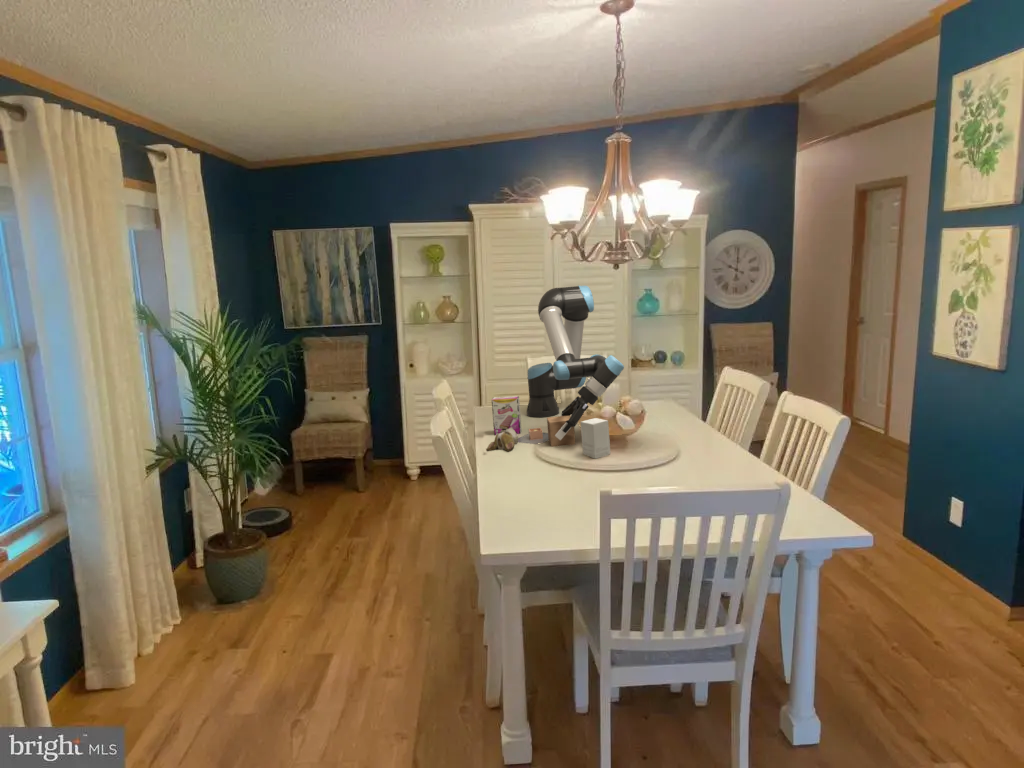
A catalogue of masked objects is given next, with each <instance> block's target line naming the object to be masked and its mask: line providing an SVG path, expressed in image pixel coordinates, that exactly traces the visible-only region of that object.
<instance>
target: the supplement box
mask: <svg viewBox="0 0 1024 768" xmlns="http://www.w3.org/2000/svg"><path fill="white" fill-rule="evenodd" d="M580 432H581V434H580V435H581V444H582V445H581V447H582V455H585V456H589V458H592V459H599V458H603V457H606V456H609V455H611V444H610V443H611V441H610V428H609V420H608V419H601V418H597V417H594V418H590V419H585V420H583V421H582V420H581V421H580Z"/></svg>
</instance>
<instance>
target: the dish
mask: <svg viewBox="0 0 1024 768" xmlns="http://www.w3.org/2000/svg"><path fill="white" fill-rule="evenodd" d="M534 430H537V431H534ZM542 433H543V429H542V428H541V427H536V428H534V427H533V428H528V434H529V438H530V440H535V439H543V434H542Z"/></svg>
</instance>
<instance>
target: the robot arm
mask: <svg viewBox="0 0 1024 768" xmlns="http://www.w3.org/2000/svg"><path fill="white" fill-rule="evenodd" d="M594 311H595V302H594V297H593V293H592V290H591V288H590V287H589V286H588V285H577V286H564V287H563V286H562V287H553V288H551V289H549V290H547V291H545V293H544V294H543V295H542V297H541V298H540V300H539V302H538V306H537V314H538V317H539V319H540V321H541V322H542V323H543V324H544V328H545V331H546V334H547V337H548V340H549V343H550V346H551V349H552V351H553V355H554V358H555V361H554V362H553V364H552V363H551V362H543V363H538V364H534V365H532V366H530V367H529V368H528V370H527V384H528V394H529V395H528V396H529V399H528V403H527V408H526V415H527V416H528V417H530V418H544V417H545V418H546V417H547V418H548V417H554V416H556V415H558V414H560V407H559V405H558V403H557V400H556V398H555V391H562V390H570V389H577V388H578V389H579V388H580V389H579V390H578V391H577V394H578V395H579V396H576V397H575V399H574V400H572V402H571V403H569V404H568V405H567V406H566V407H565V408H564V409H563V410H562V411H561V415H560V416H569V415H570V416H571V417H570V418H569V420H567V421H566V423H565V424H564V425H563V426H562V428H561V429H560V430H559V431H558V432H557V433H556V435H555V436H556V437H557V438H558V439H559V440H561V439H562V438H563V437H564V436H565V435H566V433H567V432H568V431H569V430H570V429H571V428H572V427H574V428H575V427H576V425H578V422H579V421H580V420H581V418H582V416H583V415H584V413H585V412H586V411H587V410H588V408H589V405H592V406H594V404H595V403H596V402H597V401H598V400H599V397H601V396H602V395H603V394H604V393H605V392H606V391H607V389H608V388H609V387H610V386H611V384H613V382H615V380H616V379H617V378H618V376H620V375H621V373H622V372H623V370H624V369H625V365H624V364H623V363H622V362H621V361H620V360H618V359H617V358H616V357H615V356H614V355H608V357H605V356H604V355H600V354H598V353H597V354H593V355H591V356H589V357H583V358H581V355H582V353H581V352H582V343H583V334H584V326H585V321H586V320H587V319H588V317H589V313H592V312H594ZM562 318H563V319H564V321H563V319H562ZM586 379H587V381H586ZM588 404H589V405H588Z"/></svg>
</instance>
